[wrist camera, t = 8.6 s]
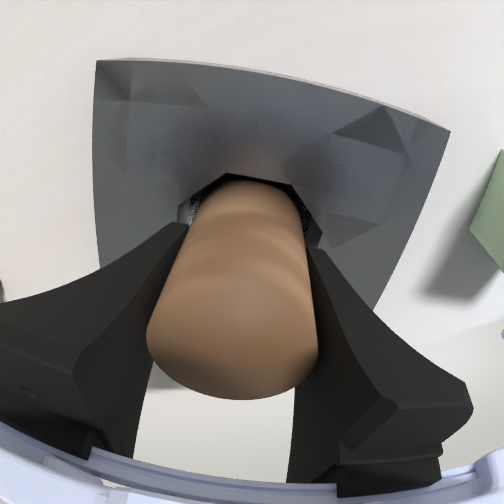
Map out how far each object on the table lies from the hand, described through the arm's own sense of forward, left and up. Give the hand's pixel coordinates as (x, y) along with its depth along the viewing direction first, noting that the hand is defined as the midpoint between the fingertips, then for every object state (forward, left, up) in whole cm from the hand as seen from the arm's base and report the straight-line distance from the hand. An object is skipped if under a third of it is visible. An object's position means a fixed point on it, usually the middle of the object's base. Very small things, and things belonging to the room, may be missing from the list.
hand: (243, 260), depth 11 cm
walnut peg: (0, 0, -3) cm, 3 cm away
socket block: (0, 0, -3) cm, 3 cm away
